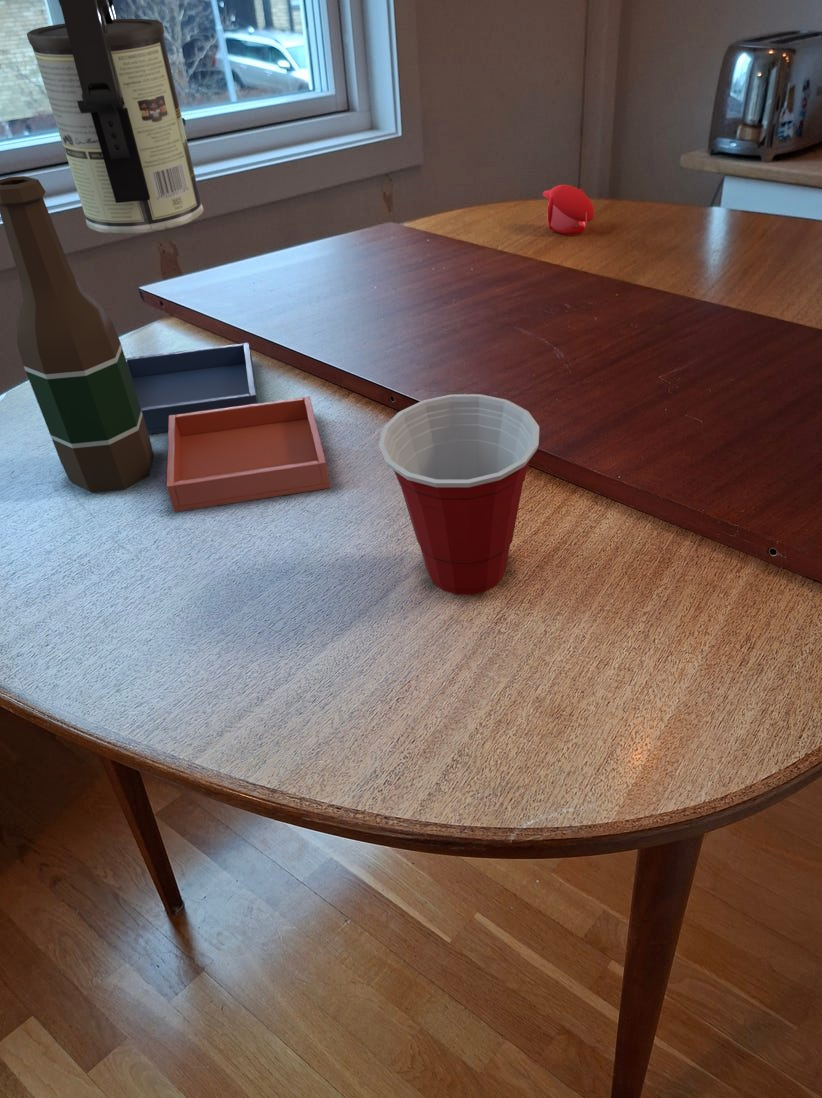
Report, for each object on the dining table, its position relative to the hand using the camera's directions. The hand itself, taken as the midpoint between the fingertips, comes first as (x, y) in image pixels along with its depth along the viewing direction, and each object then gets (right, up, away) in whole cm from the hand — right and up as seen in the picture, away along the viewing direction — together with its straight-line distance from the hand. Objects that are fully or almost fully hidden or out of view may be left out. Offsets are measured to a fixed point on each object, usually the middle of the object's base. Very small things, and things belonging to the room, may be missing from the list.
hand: (135, 183), depth 77 cm
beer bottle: (-3, -25, +3) cm, 25 cm away
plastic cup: (+29, -35, -10) cm, 47 cm away
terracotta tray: (+9, -24, +3) cm, 26 cm away
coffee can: (0, -2, +2) cm, 3 cm away
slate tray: (0, -15, +13) cm, 20 cm away
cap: (+43, +20, +52) cm, 70 cm away
